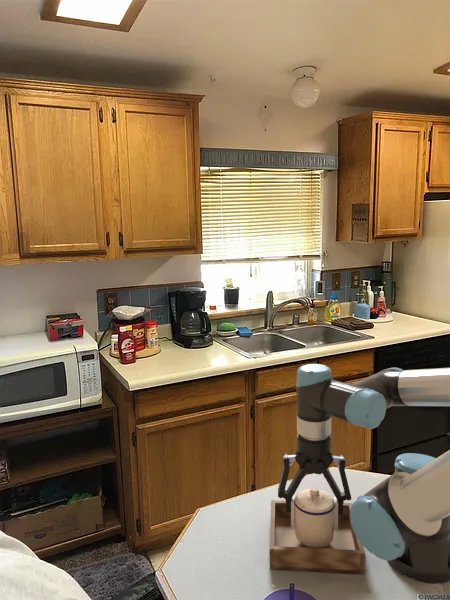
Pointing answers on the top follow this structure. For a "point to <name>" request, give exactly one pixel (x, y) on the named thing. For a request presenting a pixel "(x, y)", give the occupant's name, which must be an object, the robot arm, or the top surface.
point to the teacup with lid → (314, 517)
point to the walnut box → (298, 557)
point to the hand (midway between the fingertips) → (314, 524)
